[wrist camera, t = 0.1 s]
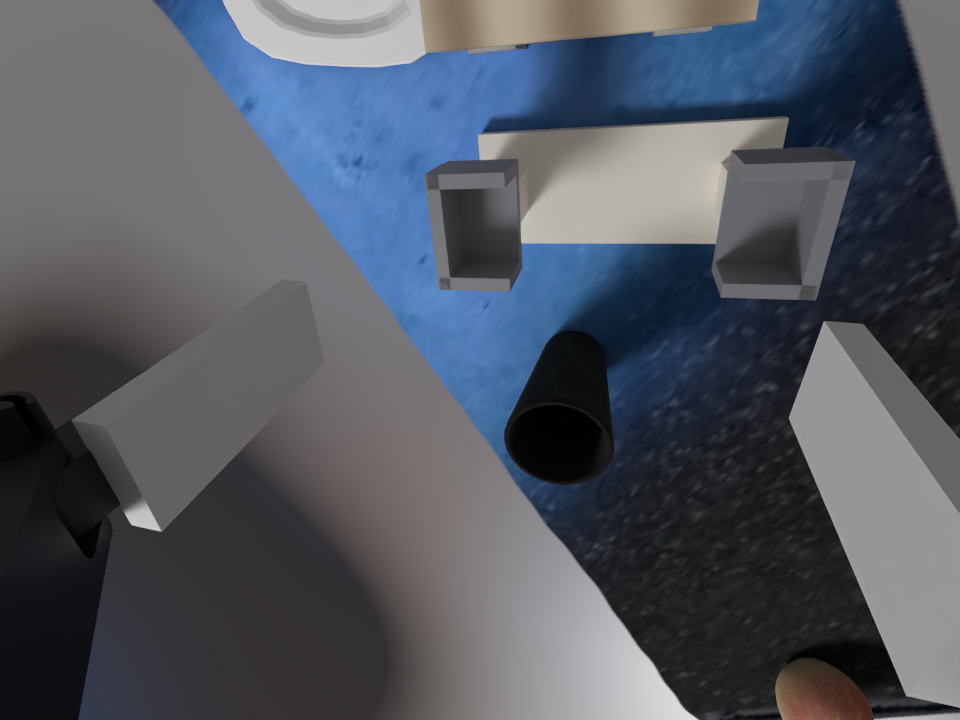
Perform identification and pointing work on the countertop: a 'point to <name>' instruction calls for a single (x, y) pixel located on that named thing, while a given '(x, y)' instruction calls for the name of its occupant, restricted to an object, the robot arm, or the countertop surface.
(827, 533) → the countertop surface
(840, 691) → the apple
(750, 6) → the rail
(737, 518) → the countertop surface
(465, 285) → the bracket stand
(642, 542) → the countertop surface
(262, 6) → the plate
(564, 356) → the cup
